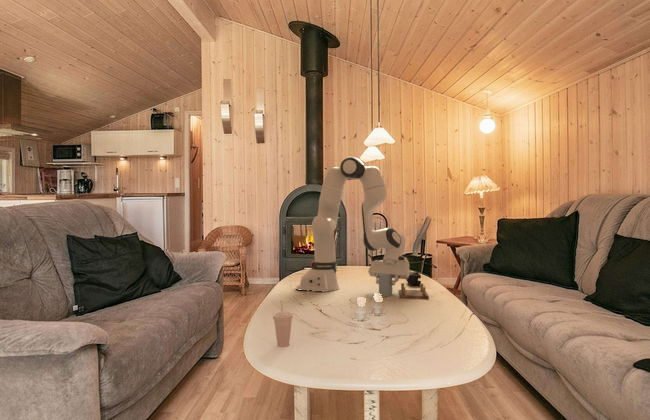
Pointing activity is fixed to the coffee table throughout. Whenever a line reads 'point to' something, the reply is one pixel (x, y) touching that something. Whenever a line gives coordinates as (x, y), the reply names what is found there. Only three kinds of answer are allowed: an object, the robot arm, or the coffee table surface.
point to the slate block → (385, 284)
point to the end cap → (414, 279)
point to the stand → (413, 293)
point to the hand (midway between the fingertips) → (385, 283)
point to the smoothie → (283, 327)
